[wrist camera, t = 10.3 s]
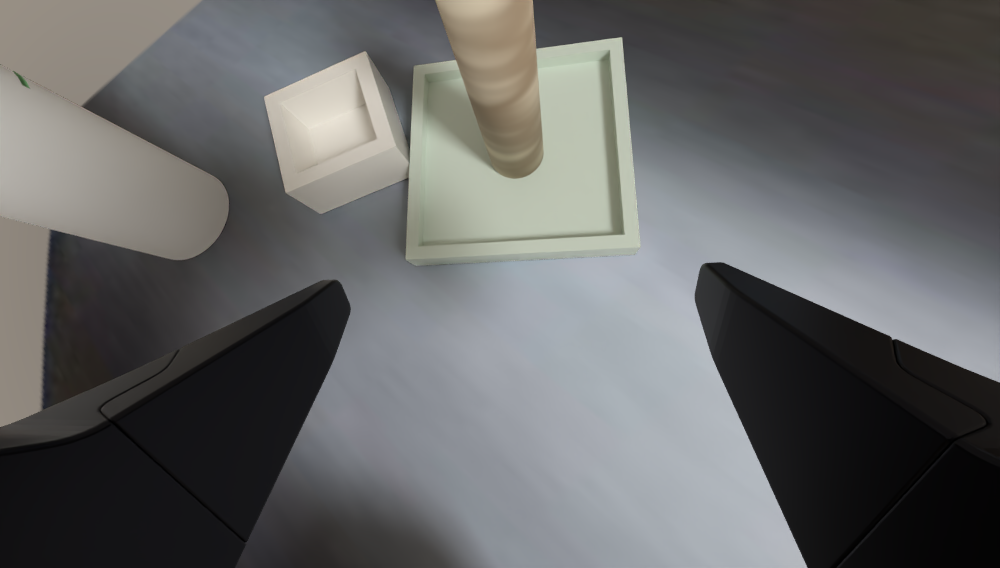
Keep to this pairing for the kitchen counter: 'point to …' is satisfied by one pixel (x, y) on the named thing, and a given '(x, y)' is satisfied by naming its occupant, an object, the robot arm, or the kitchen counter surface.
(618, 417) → the kitchen counter surface
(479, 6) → the dowel
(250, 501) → the robot arm
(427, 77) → the tray
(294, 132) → the holder
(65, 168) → the cylindrical container
